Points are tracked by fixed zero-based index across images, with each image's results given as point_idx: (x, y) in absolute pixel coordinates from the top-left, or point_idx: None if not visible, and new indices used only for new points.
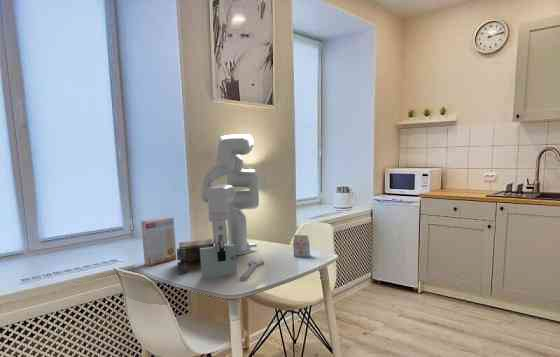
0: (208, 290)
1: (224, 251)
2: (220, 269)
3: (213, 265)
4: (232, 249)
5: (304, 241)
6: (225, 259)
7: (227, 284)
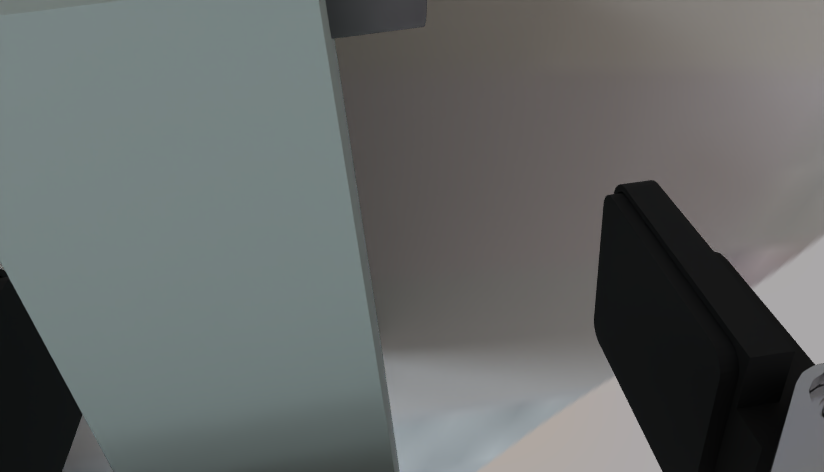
0: (815, 240)
1: (778, 365)
2: (354, 174)
3: (377, 327)
4: (332, 67)
5: None
6: (659, 200)
7: (765, 21)
